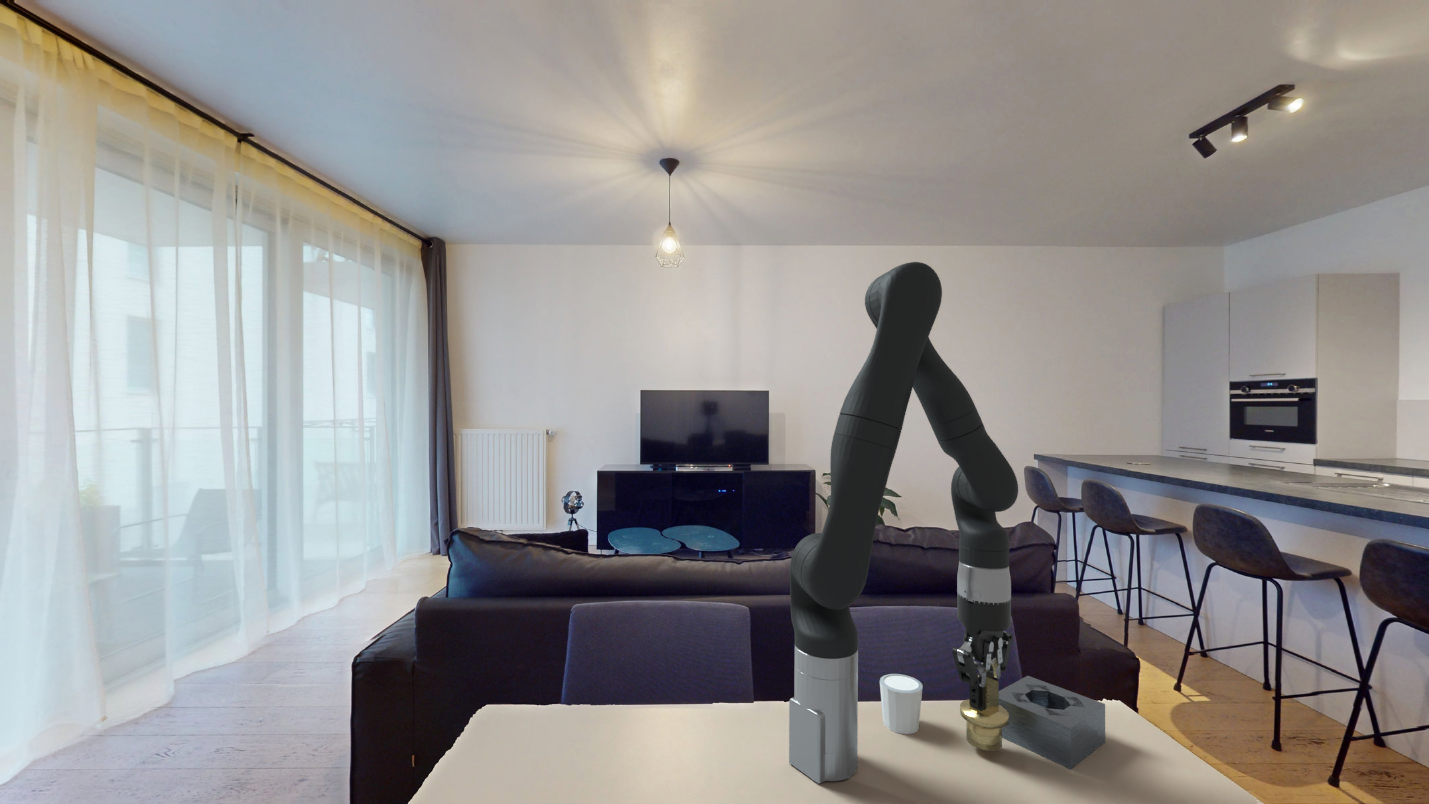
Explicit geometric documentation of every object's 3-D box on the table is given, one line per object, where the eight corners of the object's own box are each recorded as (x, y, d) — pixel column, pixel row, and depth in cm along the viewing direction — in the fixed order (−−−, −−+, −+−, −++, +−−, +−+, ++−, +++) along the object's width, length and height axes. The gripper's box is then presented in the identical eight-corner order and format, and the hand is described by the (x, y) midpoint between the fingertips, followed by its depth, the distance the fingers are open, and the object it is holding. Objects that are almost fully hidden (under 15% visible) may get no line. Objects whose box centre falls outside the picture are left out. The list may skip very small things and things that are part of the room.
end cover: (994, 759, 85) (993, 695, 86) (951, 738, 91) (951, 678, 91) (1017, 744, 90) (1017, 682, 90) (975, 724, 95) (975, 666, 95)
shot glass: (927, 721, 99) (927, 679, 99) (916, 740, 93) (917, 696, 93) (886, 709, 102) (886, 669, 102) (873, 727, 97) (874, 685, 97)
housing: (1071, 769, 86) (1071, 728, 86) (991, 732, 95) (991, 695, 95) (1105, 742, 93) (1105, 704, 93) (1027, 710, 102) (1027, 675, 103)
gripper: (984, 578, 98) (984, 683, 98) (935, 594, 89) (935, 708, 89) (1030, 590, 92) (1030, 701, 91) (982, 608, 83) (982, 731, 83)
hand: (983, 704), depth 90 cm, fingers closed on end cover, 3 cm apart
